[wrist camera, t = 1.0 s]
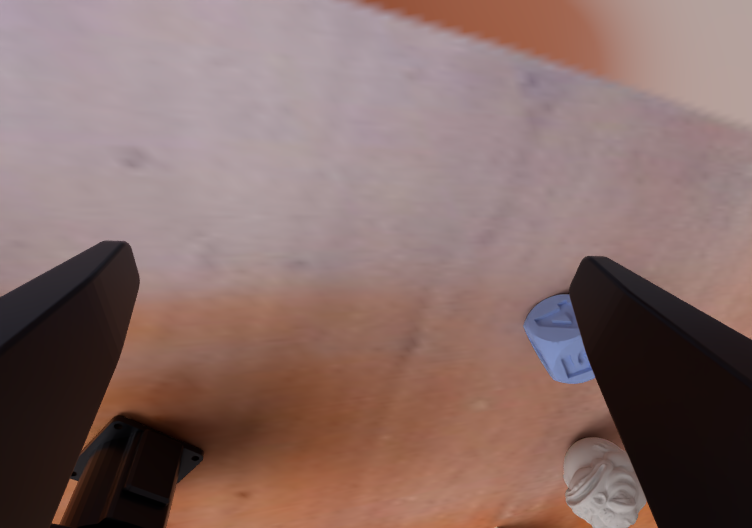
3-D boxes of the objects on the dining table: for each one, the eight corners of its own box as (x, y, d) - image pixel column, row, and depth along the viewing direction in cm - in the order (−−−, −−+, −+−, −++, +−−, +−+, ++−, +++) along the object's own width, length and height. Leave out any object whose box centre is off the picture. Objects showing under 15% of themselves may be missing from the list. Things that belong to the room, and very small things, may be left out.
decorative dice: (516, 312, 30) (544, 353, 27) (574, 283, 29) (610, 322, 26) (534, 350, 32) (562, 394, 29) (588, 325, 32) (623, 366, 28)
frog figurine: (572, 409, 36) (627, 493, 30) (633, 429, 38) (694, 510, 32) (524, 458, 38) (566, 545, 32) (584, 474, 41) (634, 557, 35)
